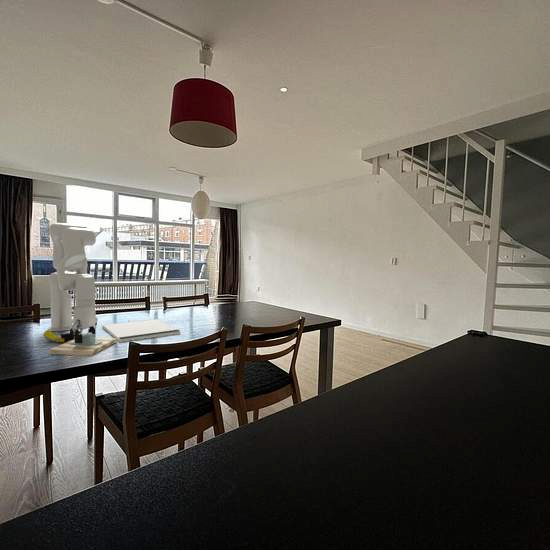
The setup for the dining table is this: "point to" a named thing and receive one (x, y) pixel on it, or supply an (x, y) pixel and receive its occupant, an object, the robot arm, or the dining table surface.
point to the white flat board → (139, 329)
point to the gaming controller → (59, 336)
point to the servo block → (88, 340)
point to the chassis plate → (83, 347)
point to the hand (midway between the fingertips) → (85, 340)
